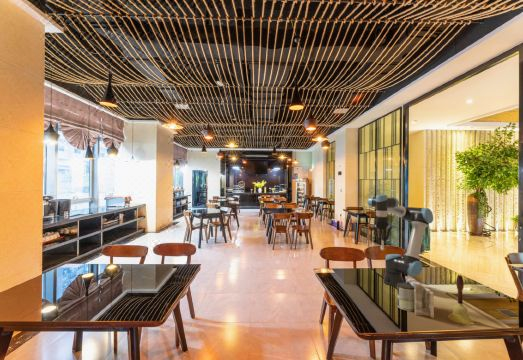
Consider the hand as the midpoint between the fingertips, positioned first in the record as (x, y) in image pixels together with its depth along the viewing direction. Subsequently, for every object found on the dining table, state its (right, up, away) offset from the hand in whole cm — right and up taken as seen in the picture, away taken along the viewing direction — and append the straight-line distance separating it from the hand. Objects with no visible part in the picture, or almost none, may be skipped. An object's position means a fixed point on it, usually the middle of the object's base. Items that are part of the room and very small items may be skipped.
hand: (382, 249), depth 194 cm
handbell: (+28, -31, -37) cm, 56 cm away
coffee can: (+5, -31, -22) cm, 39 cm away
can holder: (+11, -31, -25) cm, 41 cm away
